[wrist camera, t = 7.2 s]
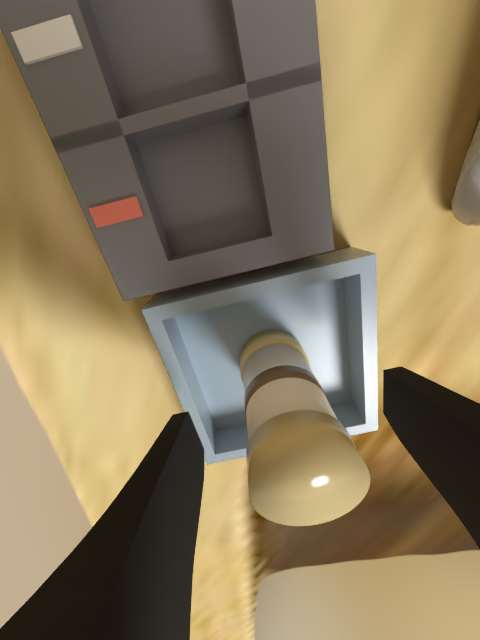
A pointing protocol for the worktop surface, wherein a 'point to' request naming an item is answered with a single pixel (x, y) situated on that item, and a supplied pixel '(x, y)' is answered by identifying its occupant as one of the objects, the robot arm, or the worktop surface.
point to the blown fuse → (295, 438)
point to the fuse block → (183, 130)
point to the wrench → (469, 186)
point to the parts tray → (266, 314)
